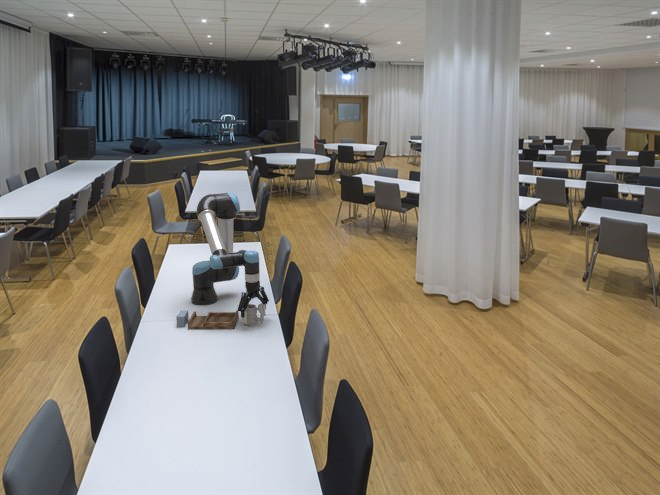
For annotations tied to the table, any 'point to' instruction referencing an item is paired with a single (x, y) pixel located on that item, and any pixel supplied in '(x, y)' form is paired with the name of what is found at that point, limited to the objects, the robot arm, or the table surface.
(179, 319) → the blue-grey rectangular block
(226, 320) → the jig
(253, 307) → the mug
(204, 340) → the table surface
